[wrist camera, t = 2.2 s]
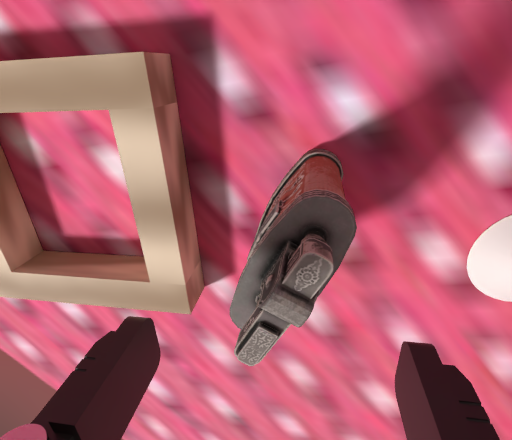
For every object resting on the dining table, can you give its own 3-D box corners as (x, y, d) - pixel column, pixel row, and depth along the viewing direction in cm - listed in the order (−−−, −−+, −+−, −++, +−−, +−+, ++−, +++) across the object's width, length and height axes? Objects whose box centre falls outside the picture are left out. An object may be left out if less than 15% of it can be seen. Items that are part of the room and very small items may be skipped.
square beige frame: (-63, 68, 20) (-122, 69, 17) (170, 54, 17) (143, 51, 14) (28, 273, 27) (-4, 296, 24) (204, 287, 24) (190, 314, 21)
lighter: (305, 137, 18) (294, 207, 9) (355, 165, 18) (393, 260, 9) (245, 240, 22) (196, 360, 13) (288, 262, 22) (269, 395, 13)
